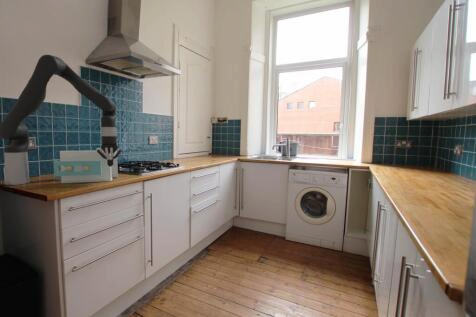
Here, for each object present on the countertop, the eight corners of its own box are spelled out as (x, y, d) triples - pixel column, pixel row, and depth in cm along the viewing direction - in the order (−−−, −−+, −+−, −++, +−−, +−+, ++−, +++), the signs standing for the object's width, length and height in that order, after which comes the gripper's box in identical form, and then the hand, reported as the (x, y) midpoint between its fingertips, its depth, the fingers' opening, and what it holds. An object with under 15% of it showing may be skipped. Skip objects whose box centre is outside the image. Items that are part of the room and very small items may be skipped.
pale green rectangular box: (55, 185, 127) (53, 152, 125) (64, 181, 139) (62, 150, 137) (108, 183, 135) (106, 151, 133) (112, 179, 147) (111, 150, 145)
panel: (54, 176, 128) (53, 161, 127) (55, 175, 129) (54, 161, 128) (101, 174, 134) (100, 160, 133) (101, 174, 135) (101, 160, 135)
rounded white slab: (121, 177, 155) (120, 149, 153) (108, 179, 149) (107, 150, 148) (108, 172, 175) (107, 147, 173) (96, 173, 170) (95, 147, 168)
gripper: (93, 135, 128) (95, 167, 130) (120, 135, 132) (122, 166, 134) (97, 135, 136) (99, 166, 137) (123, 135, 140) (124, 165, 141)
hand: (110, 166), depth 136 cm, fingers closed
